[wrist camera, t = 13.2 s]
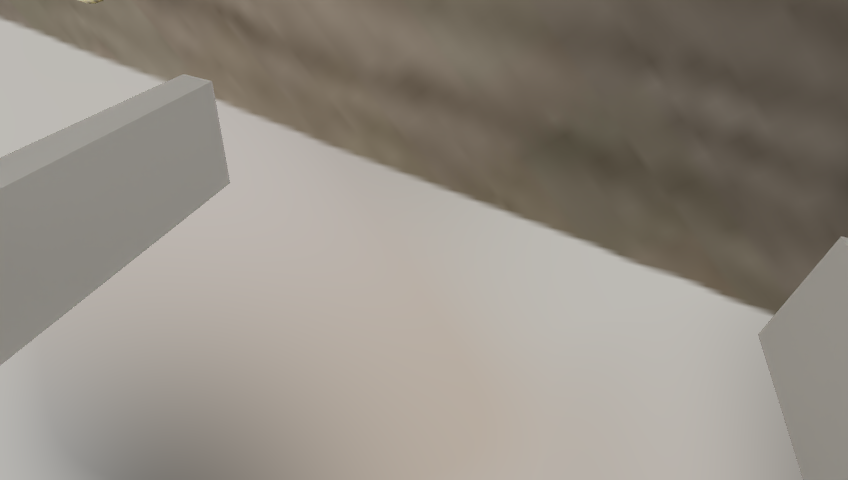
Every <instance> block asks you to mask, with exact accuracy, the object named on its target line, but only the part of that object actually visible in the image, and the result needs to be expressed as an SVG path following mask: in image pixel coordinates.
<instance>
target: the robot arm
mask: <svg viewBox="0 0 848 480" xmlns="http://www.w3.org/2000/svg"><path fill="white" fill-rule="evenodd" d="M229 183H230V180H229V175H228V169H227V163H226V158H225V152H224V147H223V141H222V135H221V129H220V124H219V118H218V113H217V107H216V101H215V95H214V90H213V84H212V81H209V80H205V79H201V78H197V77H193V76H189V75H185V74H182V75H180V76H178V77H176V78H174V79H172V80H169V81H167V82H165V83H163V84H161V85H159V86H156V87H154V88H152V89H150V90H147V91H145V92H143V93H141V94H139V95H137V96H135V97H132V98H130V99H128V100H126V101H123V102H121V103H119V104H117V105H115V106H113V107H110V108H108V109H106V110H104V111H102V112H99V113H97V114H95V115H93V116H91V117H89V118H86V119H84V120H82V121H80V122H78V123H75V124H73V125H71V126H69V127H67V128H65V129H62V130H60V131H58V132H56V133H54V134H51V135H49V136H47V137H45V138H43V139H41V140H38V141H36V142H34V143H32V144H30V145H28V146H25V147H23V148H21V149H19V150H16V151H14V152H12V153H10V154H8V155H5V156H3V157H1V158H0V365H1V364H3V363H4V362H5V361H6V360H8V359H9V358H10V357H11V356H13V355H14V354H15V353H16V352H18V351H19V350H20V349H21V348H23V347H24V346H25V345H26V344H28V343H29V342H30V341H32V340H33V339H34V338H35V337H36V336H38V335H39V334H40V333H42V332H43V331H44V330H45V329H46V328H48V327H49V326H50V325H52V324H53V323H54V322H55V321H57V320H58V319H59V318H60V317H62V316H63V315H64V314H66V313H67V312H68V311H69V310H71V309H72V308H73V307H74V306H76V305H77V304H78V303H79V302H81V301H82V300H83V299H84V298H85V297H87V296H88V295H89V294H91V293H92V292H93V291H95V290H96V289H97V288H98V287H99V286H101V285H102V284H103V283H105V282H106V281H107V280H108V279H110V278H111V277H112V276H113V275H115V274H116V273H117V272H118V271H120V270H121V269H122V268H123V267H125V266H126V265H127V264H128V263H130V262H131V261H132V260H134V259H135V258H136V257H137V256H139V255H140V254H141V253H142V252H143V251H145V250H146V249H147V248H149V247H150V246H151V245H152V244H154V243H155V242H156V241H157V240H159V239H160V238H161V237H162V236H164V235H165V234H166V233H168V232H169V231H170V230H171V229H173V228H174V227H175V226H176V225H178V224H179V223H180V222H181V221H183V220H184V219H185V218H186V217H188V216H189V215H190V214H191V213H193V212H194V211H195V210H196V209H198V208H199V207H200V206H202V205H203V204H204V203H205V202H206V201H208V200H209V199H210V198H211V197H213V196H214V195H215V194H216V193H218V192H219V191H220V190H222V189H223V188H224V187H225V186H227V185H228V184H229ZM758 335H759V339H760V342H761V345H762V348H763V352H764V355H765V358H766V361H767V365H768V368H769V371H770V374H771V377H772V381H773V384H774V387H775V390H776V393H777V397H778V400H779V403H780V406H781V410H782V413H783V416H784V420H785V423H786V426H787V429H788V432H789V436H790V439H791V442H792V446H793V449H794V452H795V455H796V459H797V462H798V465H799V468H800V471H801V475H802V478H803V480H848V238H846V237H842V236H841V237H840V238H839V239H838V241H837V242H836V243H835V244H834V245H833V247H832V248H831V249H830V250H829V251H828V252H827V254H826V255H825V256H824V257H823V258H822V260H821V261H820V262H819V263H818V264H817V266H816V267H815V268H814V269H813V270H812V271H811V273H810V274H809V275H808V276H807V277H806V279H805V280H804V281H803V282H802V283H801V284H800V286H799V287H798V288H797V289H796V290H795V292H794V293H793V294H792V295H791V296H790V298H789V299H788V300H787V301H786V302H785V303H784V305H783V306H782V307H781V308H780V309H779V311H778V312H777V313H776V314H775V315H774V316H773V318H772V319H771V320H770V321H769V322H768V324H767V325H766V326H765V327H764V328H763V329H762V331H761V332H760V333H759V334H758Z"/></svg>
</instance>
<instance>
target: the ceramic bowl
mask: <svg viewBox="0 0 848 480" xmlns="http://www.w3.org/2000/svg"><path fill="white" fill-rule="evenodd" d="M78 1H80V2H84V3H98V2H101V1H103V0H78Z"/></svg>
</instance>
